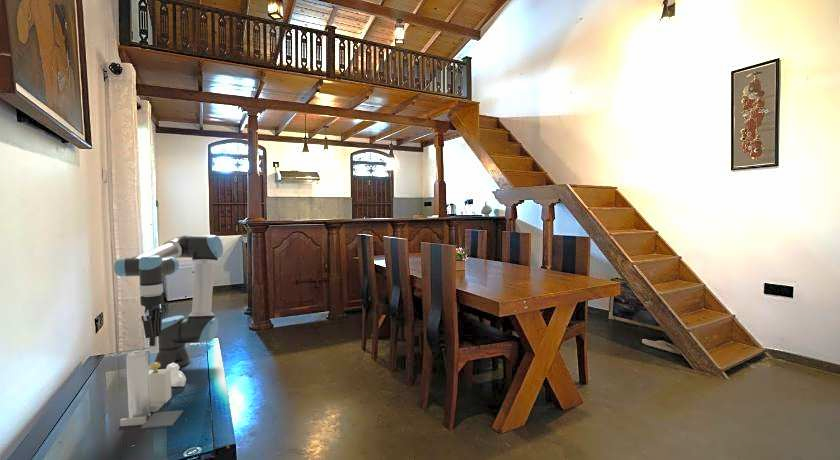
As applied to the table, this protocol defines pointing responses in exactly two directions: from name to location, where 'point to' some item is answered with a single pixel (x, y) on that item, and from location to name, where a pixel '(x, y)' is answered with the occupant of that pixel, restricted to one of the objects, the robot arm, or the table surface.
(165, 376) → the housing
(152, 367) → the release button
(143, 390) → the air filter
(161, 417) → the mat
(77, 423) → the table surface
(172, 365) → the duck figurine
